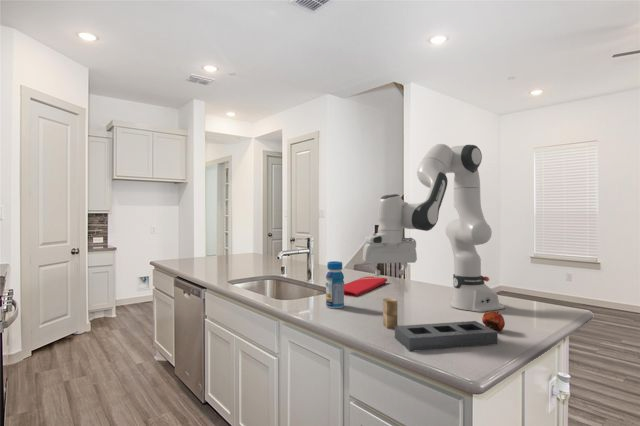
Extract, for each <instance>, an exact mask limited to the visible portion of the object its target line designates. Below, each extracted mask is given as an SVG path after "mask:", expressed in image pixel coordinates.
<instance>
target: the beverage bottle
mask: <svg viewBox="0 0 640 426" xmlns="http://www.w3.org/2000/svg"><path fill="white" fill-rule="evenodd" d="M326 265H327V266H326V267H327V270H328V272H327V273H326V276H325V279H326V281H325V298H326V299H325V300H326V301H325V306H326V307H327V308H329V309H341V308H343V307H344V306H345V295H344V284H345V281H344V279H345V276H344V273H343V272H342V270H343V262H342V261H327V264H326Z"/></svg>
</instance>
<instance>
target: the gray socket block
mask: <svg viewBox="0 0 640 426" xmlns="http://www.w3.org/2000/svg"><path fill="white" fill-rule="evenodd" d="M498 334H499V331H495V330H493V329H491V328H489V327H487V326H485V324H484V323H480V322H478V321H476V320H472V321H471V320H469V321H457V322H456V321H454V322H438V323H424V324H423V323H422V324H409V325H408V324H407V325H397V326H395V328H394V339H395V338H396V339H395V340H396V341H397V342H399V343H400V344H401V345H402V346H403V345H404V346H405V347H406V348H405V347H404V346H403V347H404V348H405V349H406V350H407V351H408V352H415V351H414V350H420V351H428V350H429V351H431V350H442V349H453V348H454V349H455V348H456V349H457V348H468V347H481V346H493V345H494V346H495V345H498V340H499V339H498V338H499V337H498Z"/></svg>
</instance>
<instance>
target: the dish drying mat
mask: <svg viewBox="0 0 640 426" xmlns="http://www.w3.org/2000/svg"><path fill="white" fill-rule="evenodd" d="M386 282H388V278H386V277H379V276H365V277H363V276H362V277H361V278H359V279H355V280H352V281H350V282H348V283H344V296H347V297H353V298H356V297H359V296H361V295H364V294H366V293H367V292H370V291H372V290H374V289H376V288H378V287H380V286H382V285H384V284H385V283H386Z"/></svg>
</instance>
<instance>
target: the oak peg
mask: <svg viewBox="0 0 640 426" xmlns="http://www.w3.org/2000/svg"><path fill="white" fill-rule="evenodd" d="M382 303H383V304H382V305H383V307H382V310H383V311H382V312H383V313H382V315H383V317H382V318H383V321H382V323H383V325H382V326H384V328H386V329H395V326H398V300H397V299H395V298H393V297H391V298H383V301H382Z"/></svg>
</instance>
